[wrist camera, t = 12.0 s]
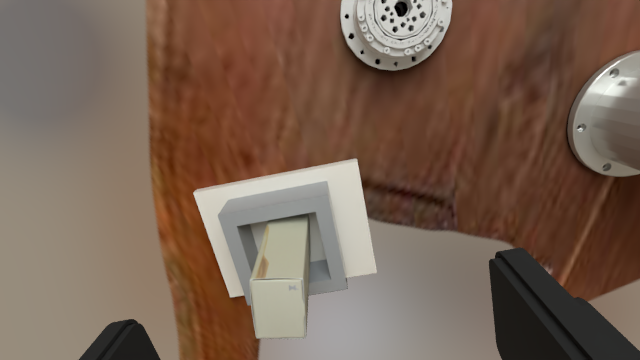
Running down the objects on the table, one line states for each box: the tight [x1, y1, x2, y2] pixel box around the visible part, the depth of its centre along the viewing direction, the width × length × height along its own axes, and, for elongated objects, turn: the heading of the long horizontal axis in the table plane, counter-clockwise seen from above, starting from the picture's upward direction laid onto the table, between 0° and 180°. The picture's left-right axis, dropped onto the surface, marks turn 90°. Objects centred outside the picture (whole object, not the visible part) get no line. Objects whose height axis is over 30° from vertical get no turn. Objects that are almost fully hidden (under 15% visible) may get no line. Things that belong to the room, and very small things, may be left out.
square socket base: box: [193, 159, 377, 305], centre depth 37 cm, size 18×14×5 cm
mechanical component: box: [340, 0, 452, 71], centre depth 30 cm, size 10×4×10 cm
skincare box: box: [249, 213, 311, 339], centre depth 33 cm, size 6×4×12 cm
